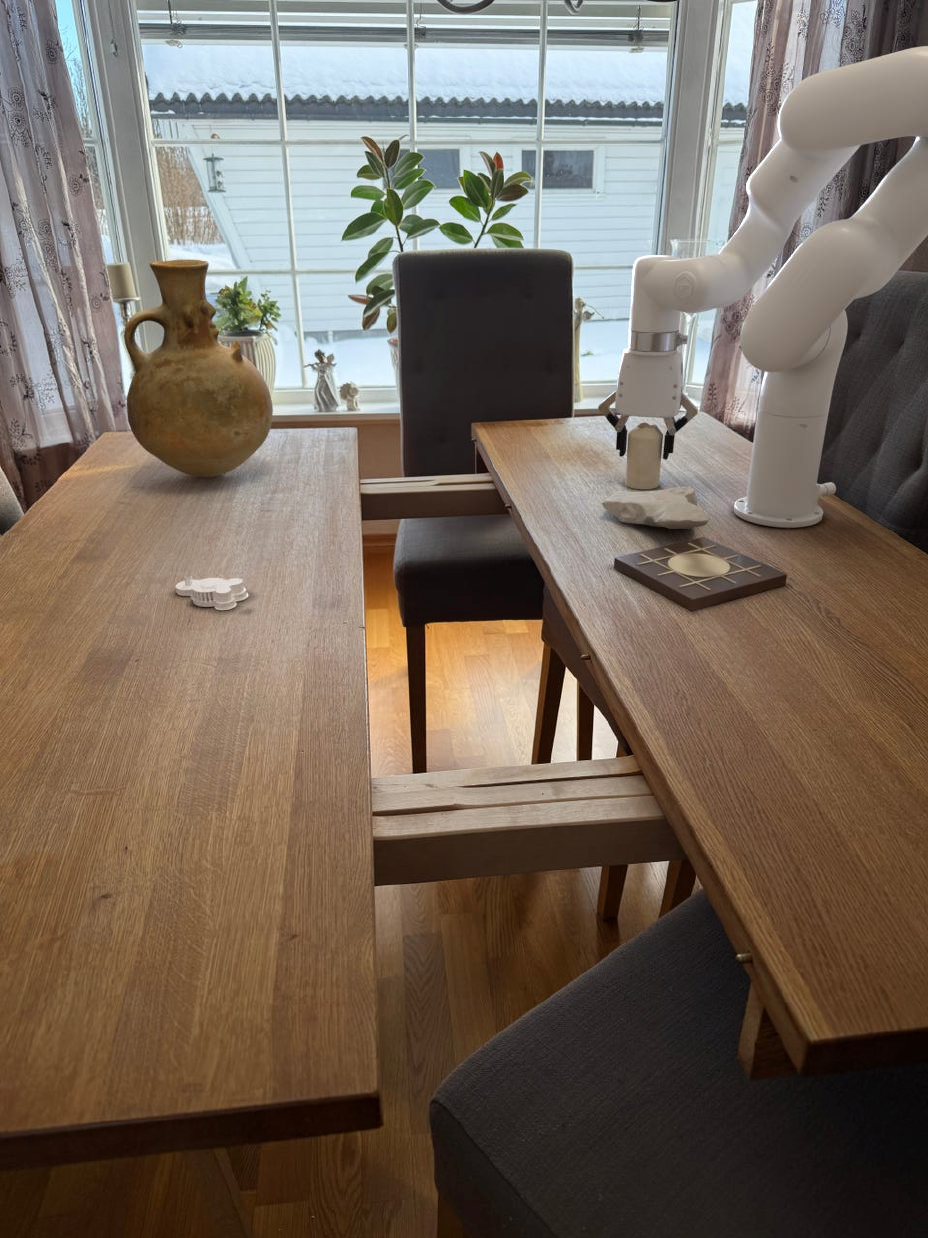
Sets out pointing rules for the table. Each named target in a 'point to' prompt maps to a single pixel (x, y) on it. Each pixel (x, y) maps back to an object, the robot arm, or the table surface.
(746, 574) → the board
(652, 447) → the candle
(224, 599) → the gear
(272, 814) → the table surface
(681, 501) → the rock
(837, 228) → the robot arm
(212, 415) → the vase
